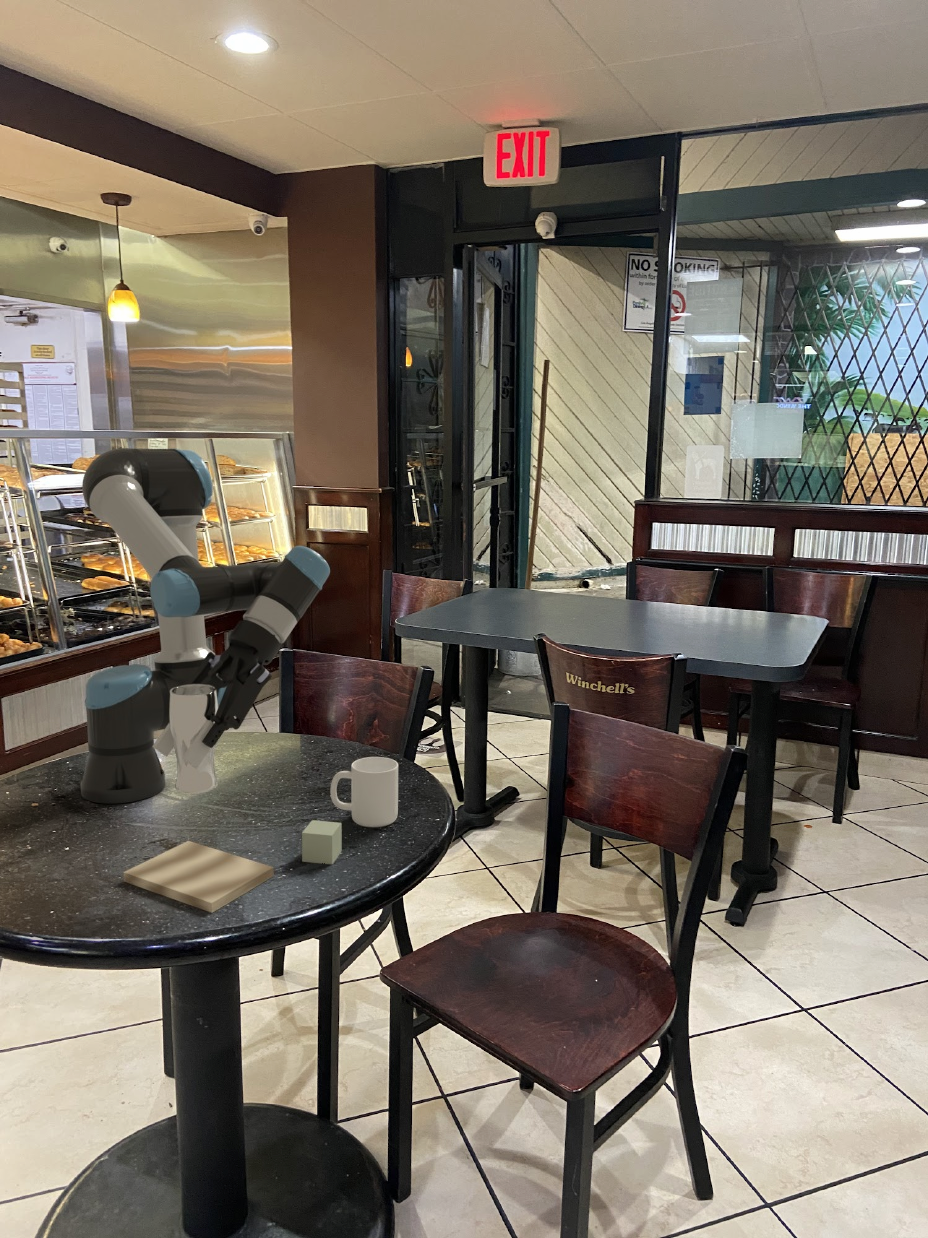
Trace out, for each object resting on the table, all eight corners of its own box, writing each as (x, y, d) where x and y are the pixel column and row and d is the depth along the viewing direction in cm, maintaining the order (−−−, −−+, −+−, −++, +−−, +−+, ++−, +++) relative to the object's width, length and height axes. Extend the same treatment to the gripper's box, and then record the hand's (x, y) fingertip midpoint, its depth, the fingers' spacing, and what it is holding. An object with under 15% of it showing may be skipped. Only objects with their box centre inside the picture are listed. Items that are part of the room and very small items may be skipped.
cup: (397, 827, 155) (397, 772, 154) (328, 828, 155) (328, 772, 153) (398, 809, 164) (398, 756, 162) (332, 809, 163) (332, 756, 161)
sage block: (302, 862, 142) (301, 832, 141) (312, 848, 147) (312, 820, 146) (332, 865, 141) (332, 835, 140) (341, 851, 146) (341, 823, 145)
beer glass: (176, 798, 128) (172, 698, 125) (168, 782, 134) (164, 686, 131) (225, 790, 131) (222, 692, 128) (215, 775, 137) (212, 681, 134)
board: (124, 881, 134) (123, 872, 134) (188, 849, 145) (188, 841, 145) (212, 913, 125) (211, 903, 125) (273, 876, 137) (273, 867, 136)
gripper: (317, 656, 135) (231, 786, 125) (237, 637, 147) (153, 755, 137) (289, 626, 130) (198, 760, 120) (208, 609, 142) (119, 729, 132)
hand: (174, 757), depth 129 cm, fingers closed on beer glass, 7 cm apart
